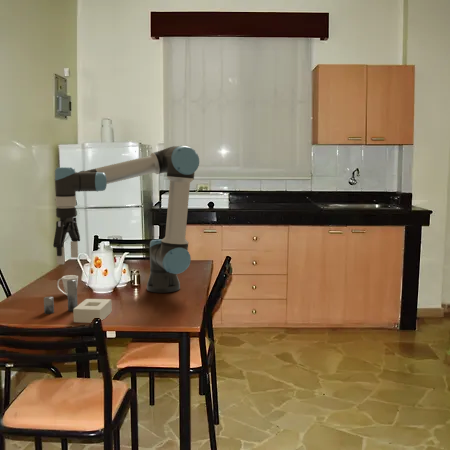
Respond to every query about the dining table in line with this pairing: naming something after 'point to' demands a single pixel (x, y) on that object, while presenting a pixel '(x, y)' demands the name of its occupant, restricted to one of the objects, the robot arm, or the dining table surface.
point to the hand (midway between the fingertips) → (67, 260)
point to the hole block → (92, 310)
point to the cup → (64, 279)
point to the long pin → (72, 294)
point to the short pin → (48, 305)
